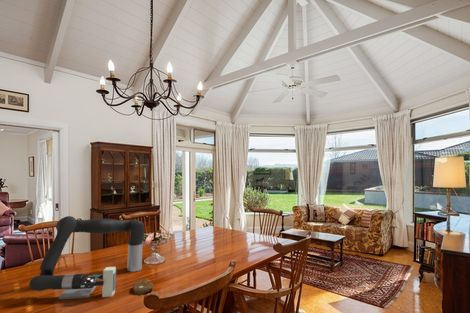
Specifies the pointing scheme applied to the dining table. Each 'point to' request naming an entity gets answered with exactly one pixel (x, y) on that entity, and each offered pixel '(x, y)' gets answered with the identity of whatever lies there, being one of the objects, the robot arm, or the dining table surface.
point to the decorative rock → (142, 286)
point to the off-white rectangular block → (109, 281)
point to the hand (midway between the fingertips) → (106, 279)
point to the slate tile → (76, 293)
